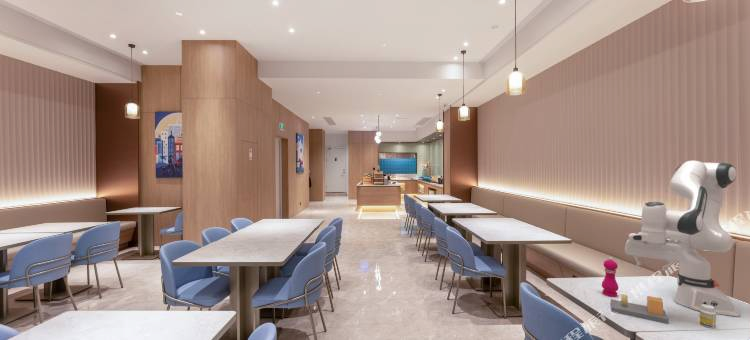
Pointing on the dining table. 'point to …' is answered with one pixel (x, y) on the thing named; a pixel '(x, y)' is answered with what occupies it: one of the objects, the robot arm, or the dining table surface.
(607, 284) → the pepper mill
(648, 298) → the tangerine wooden cube
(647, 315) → the plate
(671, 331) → the dining table surface
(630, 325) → the dining table surface
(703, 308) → the supplement bottle
